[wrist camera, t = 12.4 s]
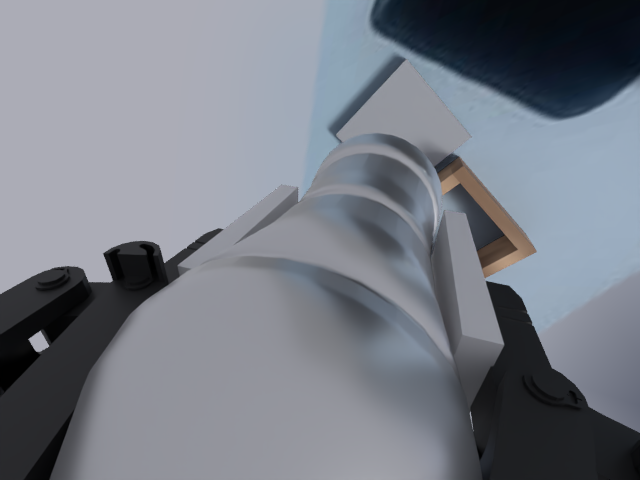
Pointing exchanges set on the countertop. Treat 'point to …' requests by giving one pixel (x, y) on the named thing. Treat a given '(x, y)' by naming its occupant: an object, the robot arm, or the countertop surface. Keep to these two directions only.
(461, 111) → the countertop surface
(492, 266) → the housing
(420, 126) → the pad
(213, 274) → the plastic bottle
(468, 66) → the countertop surface
